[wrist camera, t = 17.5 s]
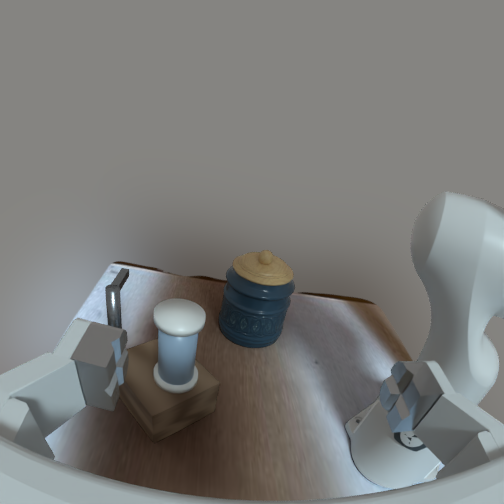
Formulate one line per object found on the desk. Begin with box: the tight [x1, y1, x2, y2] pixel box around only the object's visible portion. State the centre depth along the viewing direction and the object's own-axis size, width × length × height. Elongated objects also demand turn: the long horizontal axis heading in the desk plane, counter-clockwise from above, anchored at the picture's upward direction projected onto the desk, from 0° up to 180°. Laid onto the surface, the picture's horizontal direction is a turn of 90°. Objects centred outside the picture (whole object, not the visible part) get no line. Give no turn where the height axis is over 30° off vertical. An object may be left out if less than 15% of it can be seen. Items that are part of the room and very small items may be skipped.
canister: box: [219, 250, 295, 348], centre depth 61 cm, size 13×13×18 cm
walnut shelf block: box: [119, 338, 220, 443], centre depth 42 cm, size 11×12×7 cm
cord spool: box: [154, 298, 206, 393], centre depth 38 cm, size 6×6×11 cm
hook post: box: [106, 268, 129, 329], centre depth 40 cm, size 2×6×12 cm, turn 1°
